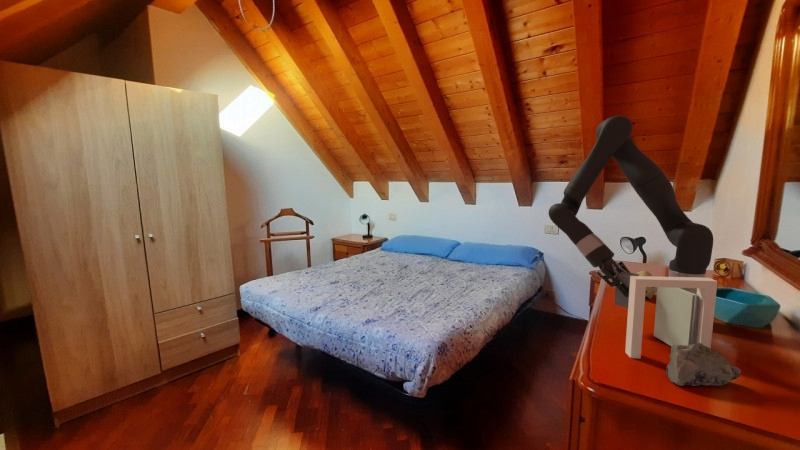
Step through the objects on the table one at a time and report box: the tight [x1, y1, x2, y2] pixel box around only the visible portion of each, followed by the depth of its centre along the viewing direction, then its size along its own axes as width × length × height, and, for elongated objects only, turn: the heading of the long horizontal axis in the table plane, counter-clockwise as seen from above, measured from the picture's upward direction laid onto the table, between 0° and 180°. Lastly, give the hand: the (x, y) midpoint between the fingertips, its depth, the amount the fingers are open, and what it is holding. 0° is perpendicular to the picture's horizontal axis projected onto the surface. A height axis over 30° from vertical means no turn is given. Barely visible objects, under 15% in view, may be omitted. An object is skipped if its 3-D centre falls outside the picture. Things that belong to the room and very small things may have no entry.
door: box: [653, 287, 699, 347], centre depth 92 cm, size 13×3×17 cm, turn 0°
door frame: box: [624, 275, 718, 359], centre depth 87 cm, size 18×3×22 cm, turn 80°
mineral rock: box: [665, 342, 742, 387], centre depth 77 cm, size 13×11×10 cm
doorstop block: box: [614, 272, 639, 309], centre depth 104 cm, size 4×5×10 cm
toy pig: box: [635, 270, 657, 299], centre depth 133 cm, size 10×12×11 cm
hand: (633, 293), depth 102 cm, fingers closed on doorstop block, 5 cm apart
